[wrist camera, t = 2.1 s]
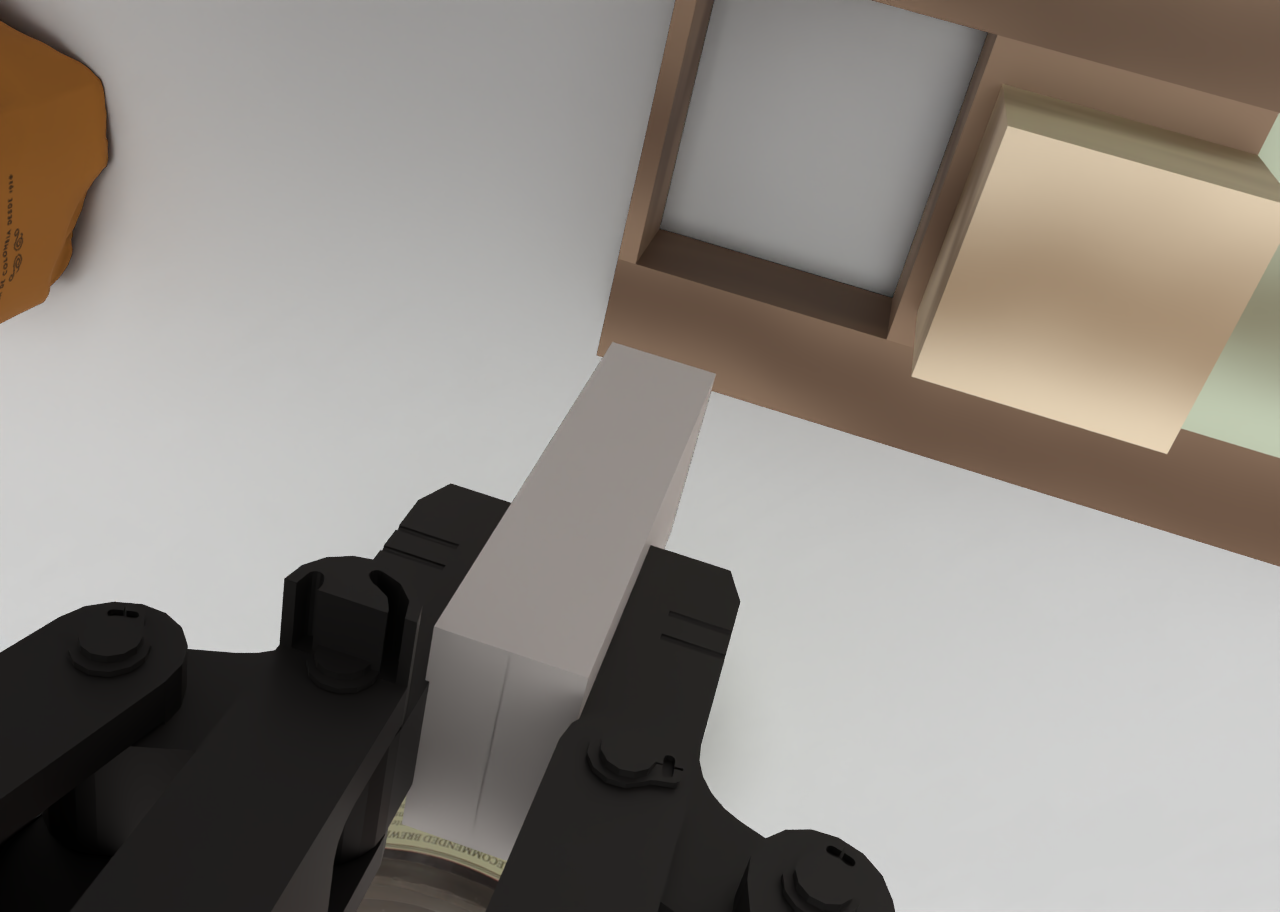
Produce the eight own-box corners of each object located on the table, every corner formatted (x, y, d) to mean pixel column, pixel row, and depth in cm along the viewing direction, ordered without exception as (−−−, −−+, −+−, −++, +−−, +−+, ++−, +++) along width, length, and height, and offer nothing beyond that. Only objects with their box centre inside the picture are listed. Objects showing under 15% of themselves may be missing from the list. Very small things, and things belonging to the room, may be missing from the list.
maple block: (1002, 83, 28) (1007, 125, 25) (1258, 155, 28) (1298, 208, 24) (917, 311, 31) (911, 376, 28) (1145, 379, 31) (1167, 454, 27)
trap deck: (739, -195, 29) (718, -192, 27) (1941, 122, 27) (2042, 158, 24) (622, 315, 37) (596, 355, 34) (1557, 600, 34) (1605, 667, 32)
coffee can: (496, 798, 48) (342, 1134, 36) (390, 590, 44) (177, 890, 32) (738, 773, 45) (655, 1138, 33) (646, 543, 41) (513, 863, 29)
